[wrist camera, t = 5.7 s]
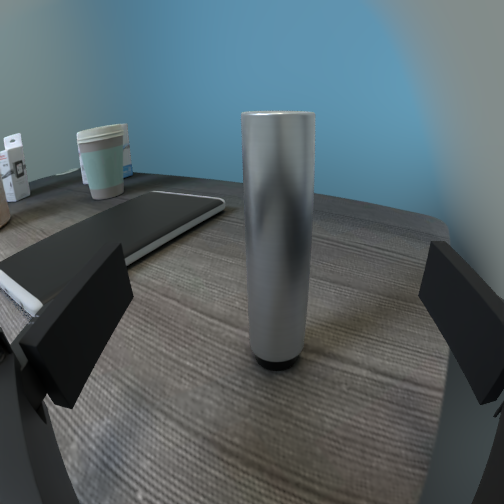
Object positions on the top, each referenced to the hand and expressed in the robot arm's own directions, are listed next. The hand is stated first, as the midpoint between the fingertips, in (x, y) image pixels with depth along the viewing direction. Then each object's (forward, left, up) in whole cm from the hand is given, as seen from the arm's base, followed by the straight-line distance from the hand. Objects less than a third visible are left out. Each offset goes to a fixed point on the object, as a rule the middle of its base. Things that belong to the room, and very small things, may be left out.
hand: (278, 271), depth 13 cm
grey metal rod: (0, -2, -7) cm, 7 cm away
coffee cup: (+32, -35, -7) cm, 48 cm away
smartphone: (+19, -16, -7) cm, 26 cm away
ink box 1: (+62, -37, -7) cm, 73 cm away
